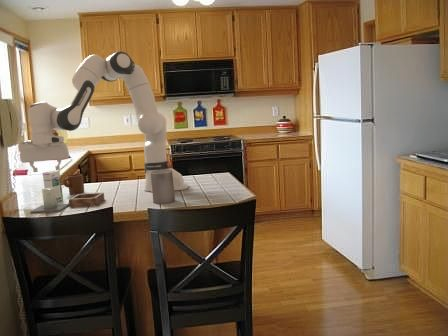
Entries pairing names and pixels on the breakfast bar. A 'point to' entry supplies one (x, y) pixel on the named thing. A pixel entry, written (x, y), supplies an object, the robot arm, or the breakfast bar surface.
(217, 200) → the breakfast bar surface
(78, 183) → the mug
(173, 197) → the pillar candle
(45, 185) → the syrup box
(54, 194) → the jug
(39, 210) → the charcoal mat
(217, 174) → the breakfast bar surface
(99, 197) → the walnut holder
